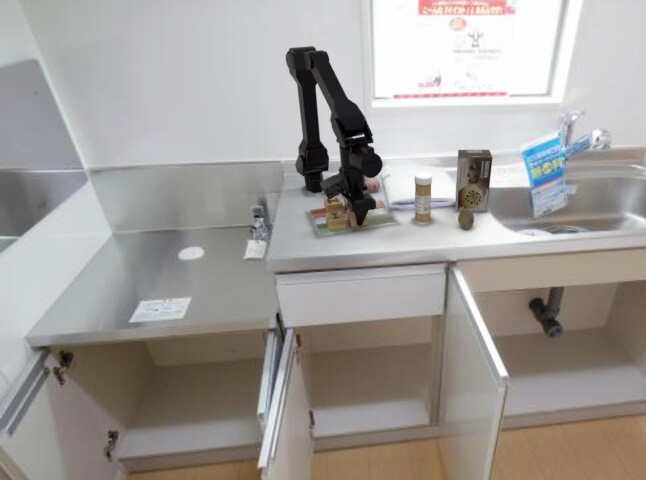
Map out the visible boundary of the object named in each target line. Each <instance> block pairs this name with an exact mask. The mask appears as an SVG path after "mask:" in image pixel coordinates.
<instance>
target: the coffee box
mask: <svg viewBox="0 0 646 480" xmlns="http://www.w3.org/2000/svg"><path fill="white" fill-rule="evenodd" d="M492 165H493V155H492V152H491V151H490V149H458V150H457V163H456V181H455V182H456V184H455V197H456V202H455V201H454V205H455V211H456V213H461V212H462V211H463V210H466V209H468V210H470V211H472V213H474V212H475V213H476V212H477V213H479V212H480V213H481V212H483V213H485V212H488V204H489V195H490V187H491V177H492V175H491V174H492V167H493V166H492Z"/></svg>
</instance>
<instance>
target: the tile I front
mask: <svg viewBox="0 0 646 480" xmlns="http://www.w3.org/2000/svg"><path fill="white" fill-rule="evenodd" d="M325 216H326V217H325V223H327V226H328V228H329V230H330V231H334V230H340V229H346V228H347V226H346V220H347V217H346V216H345V214H343V213H342V211H340V212H334V213H327V214H325Z"/></svg>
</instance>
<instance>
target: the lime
mask: <svg viewBox="0 0 646 480" xmlns="http://www.w3.org/2000/svg"><path fill="white" fill-rule="evenodd" d="M457 222H458V224H459V225H460V226H461V227H462V228H464V229H465V230H470V229H472V227H473V225H474V222H475V216H474V212H472V211H470V210H468V209H466V210H463V211H462V212H459V214H458V216H457Z"/></svg>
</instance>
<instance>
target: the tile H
mask: <svg viewBox="0 0 646 480" xmlns="http://www.w3.org/2000/svg"><path fill="white" fill-rule="evenodd" d="M323 205H324V208H325V210H326V212H327V213H334V212H340V211H342V213H344V210H343V205H344V202H343V201H342V200H341V198H340V196H335V197H333V198H332V199H328V198H327V197H326V198H323Z"/></svg>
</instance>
